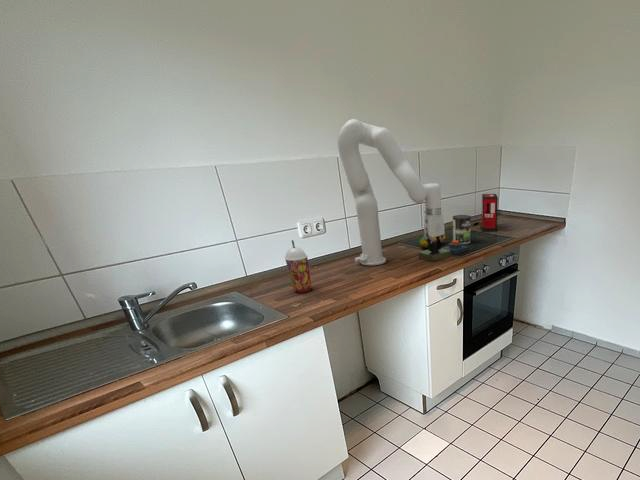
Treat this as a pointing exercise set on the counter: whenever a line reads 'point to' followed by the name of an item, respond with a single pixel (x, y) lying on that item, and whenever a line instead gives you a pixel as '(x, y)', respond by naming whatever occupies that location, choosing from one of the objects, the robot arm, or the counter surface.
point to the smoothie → (298, 269)
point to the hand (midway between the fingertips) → (434, 249)
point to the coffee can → (462, 228)
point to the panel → (434, 255)
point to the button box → (456, 248)
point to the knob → (436, 245)
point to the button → (455, 242)
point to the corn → (424, 242)
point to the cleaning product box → (489, 212)
